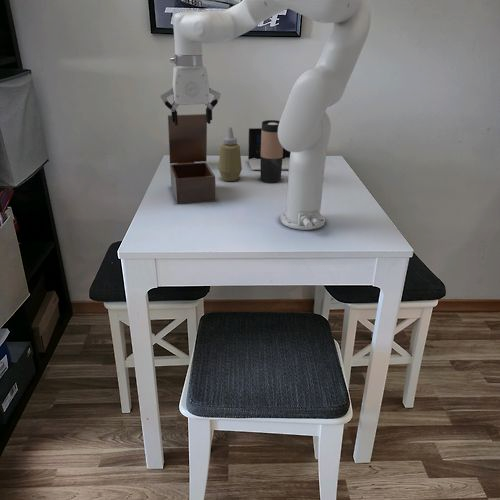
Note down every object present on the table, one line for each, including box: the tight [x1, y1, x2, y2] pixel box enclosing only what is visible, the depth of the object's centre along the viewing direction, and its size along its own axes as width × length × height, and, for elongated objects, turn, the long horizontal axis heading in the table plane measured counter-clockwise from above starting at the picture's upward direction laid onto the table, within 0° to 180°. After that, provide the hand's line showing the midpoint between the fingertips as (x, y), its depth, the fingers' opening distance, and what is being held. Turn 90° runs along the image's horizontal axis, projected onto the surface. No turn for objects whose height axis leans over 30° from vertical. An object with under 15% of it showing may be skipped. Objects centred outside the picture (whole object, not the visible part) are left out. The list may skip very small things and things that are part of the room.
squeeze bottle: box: [218, 126, 243, 182], centre depth 163 cm, size 8×8×18 cm
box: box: [169, 161, 217, 205], centre depth 151 cm, size 15×12×8 cm
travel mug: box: [260, 119, 283, 184], centre depth 162 cm, size 8×8×20 cm
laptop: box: [247, 127, 291, 171], centre depth 179 cm, size 18×12×13 cm
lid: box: [167, 113, 208, 164], centre depth 152 cm, size 16×12×5 cm
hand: (192, 123), depth 140 cm, fingers open, 9 cm apart
